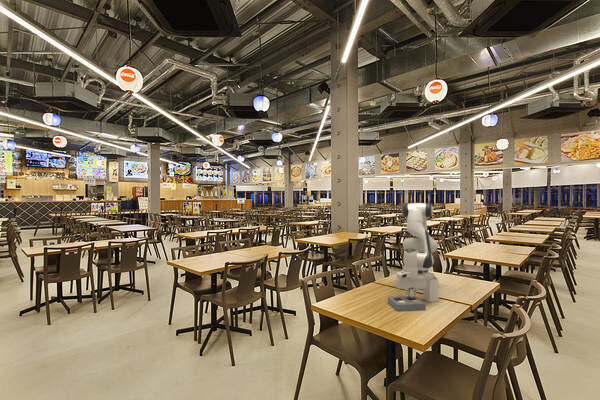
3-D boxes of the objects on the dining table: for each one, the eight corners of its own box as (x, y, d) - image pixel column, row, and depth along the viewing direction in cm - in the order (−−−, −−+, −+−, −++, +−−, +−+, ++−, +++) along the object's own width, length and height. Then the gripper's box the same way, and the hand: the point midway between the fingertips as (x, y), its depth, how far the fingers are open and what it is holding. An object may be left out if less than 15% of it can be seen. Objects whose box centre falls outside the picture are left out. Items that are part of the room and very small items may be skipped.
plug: (407, 301, 191) (407, 285, 191) (412, 300, 192) (412, 285, 192) (409, 302, 188) (409, 287, 188) (415, 302, 188) (414, 287, 188)
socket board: (387, 302, 194) (387, 296, 195) (413, 301, 196) (413, 295, 196) (397, 311, 179) (397, 304, 179) (425, 310, 180) (425, 303, 180)
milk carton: (430, 302, 194) (429, 274, 194) (422, 299, 201) (422, 271, 201) (438, 301, 196) (438, 273, 196) (431, 298, 203) (430, 271, 203)
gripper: (423, 272, 194) (423, 292, 194) (394, 273, 192) (394, 293, 192) (428, 274, 188) (428, 295, 187) (398, 275, 186) (398, 296, 186)
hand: (411, 294), depth 190 cm, fingers closed on plug, 3 cm apart
